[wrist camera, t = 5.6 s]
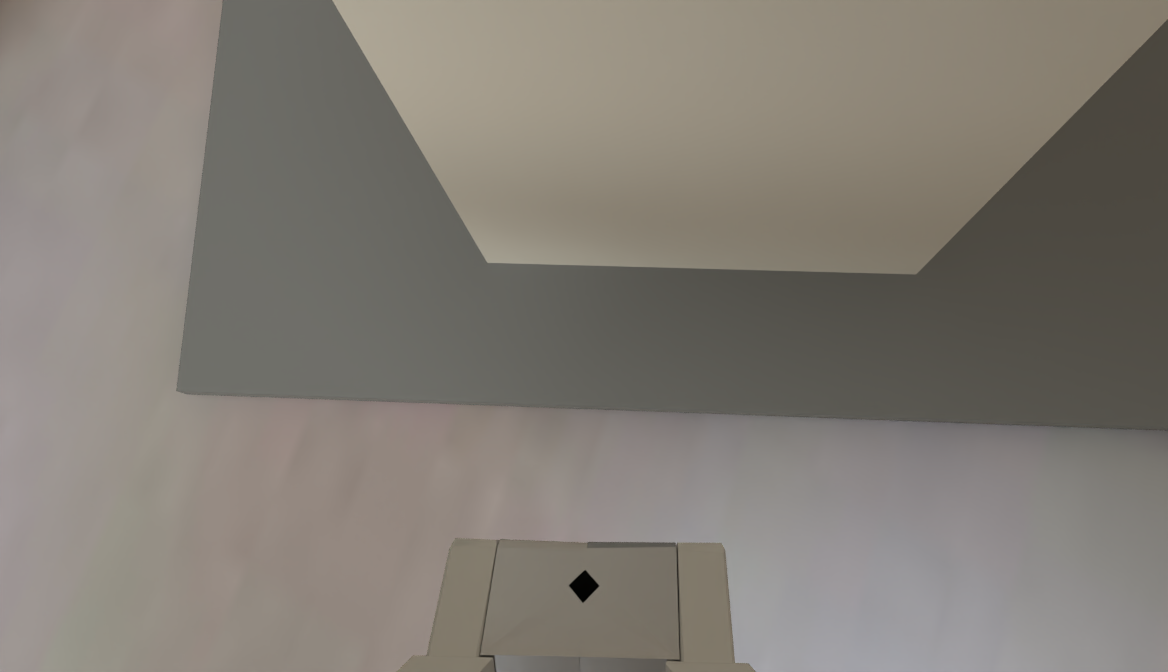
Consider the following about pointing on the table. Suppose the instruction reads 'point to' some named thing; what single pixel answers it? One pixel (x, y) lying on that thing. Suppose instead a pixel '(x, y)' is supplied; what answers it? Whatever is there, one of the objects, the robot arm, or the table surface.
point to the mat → (656, 274)
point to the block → (736, 119)
